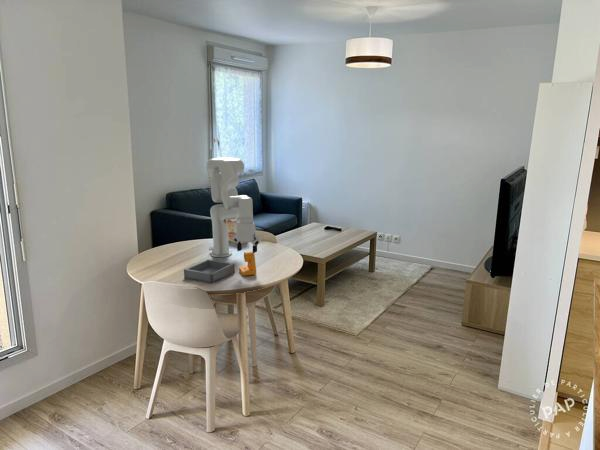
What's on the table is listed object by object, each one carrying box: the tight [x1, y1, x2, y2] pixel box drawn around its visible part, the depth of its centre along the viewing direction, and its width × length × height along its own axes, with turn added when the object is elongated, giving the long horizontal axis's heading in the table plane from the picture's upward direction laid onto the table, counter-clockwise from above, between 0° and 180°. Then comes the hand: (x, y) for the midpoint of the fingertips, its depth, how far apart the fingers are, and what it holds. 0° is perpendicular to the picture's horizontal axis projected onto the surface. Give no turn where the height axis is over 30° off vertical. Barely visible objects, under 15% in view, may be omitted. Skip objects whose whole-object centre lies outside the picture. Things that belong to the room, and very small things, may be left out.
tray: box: [183, 259, 235, 285], centre depth 237 cm, size 18×20×5 cm
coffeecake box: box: [225, 215, 247, 245], centre depth 306 cm, size 15×7×20 cm, turn 50°
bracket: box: [238, 250, 257, 277], centre depth 240 cm, size 11×7×12 cm, turn 20°
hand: (247, 251), depth 238 cm, fingers open, 9 cm apart
